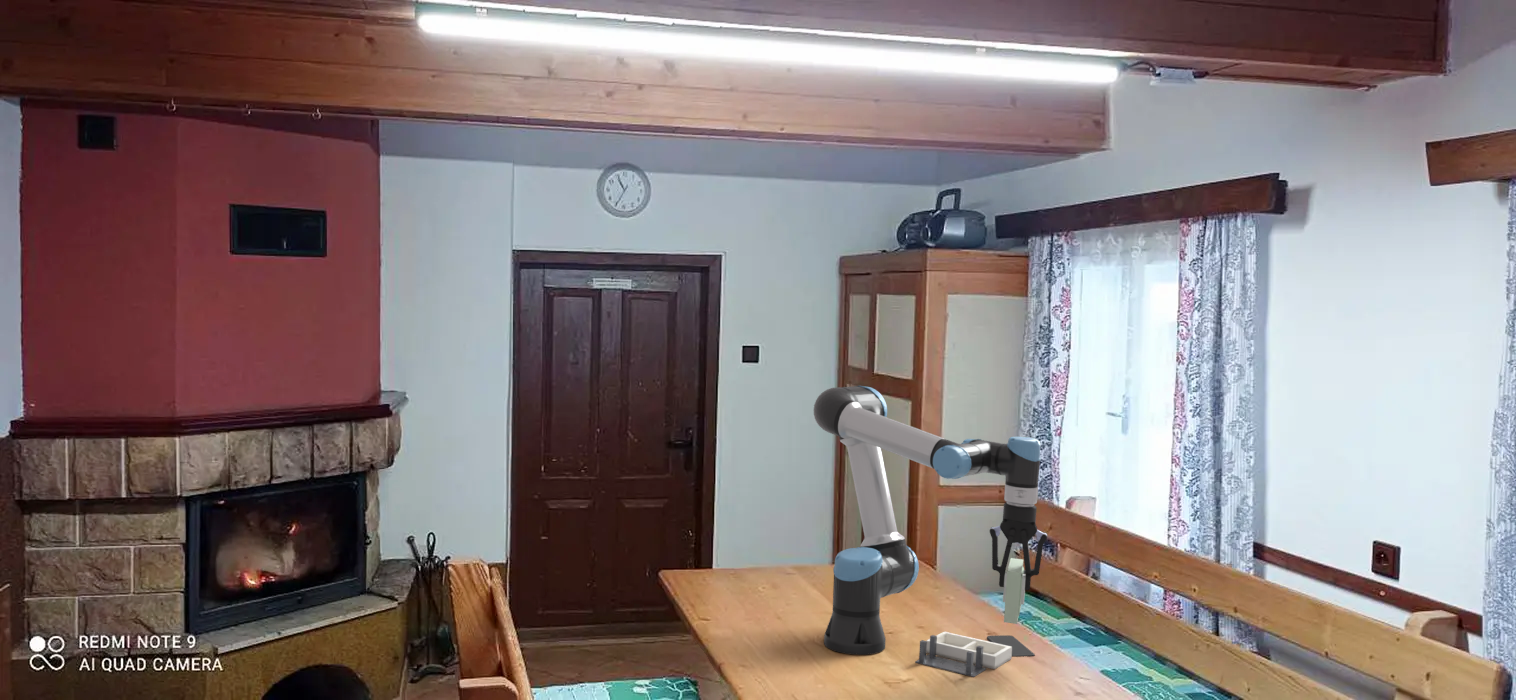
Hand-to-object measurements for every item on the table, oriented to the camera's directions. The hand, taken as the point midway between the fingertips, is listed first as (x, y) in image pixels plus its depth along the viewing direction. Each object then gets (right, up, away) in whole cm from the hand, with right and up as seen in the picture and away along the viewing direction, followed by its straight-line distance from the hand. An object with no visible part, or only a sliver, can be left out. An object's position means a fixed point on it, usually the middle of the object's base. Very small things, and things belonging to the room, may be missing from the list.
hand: (1013, 601), depth 258 cm
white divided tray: (-9, -15, +9) cm, 20 cm away
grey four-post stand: (-15, -15, +1) cm, 21 cm away
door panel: (0, -3, 0) cm, 3 cm away
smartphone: (+3, -16, +17) cm, 24 cm away
